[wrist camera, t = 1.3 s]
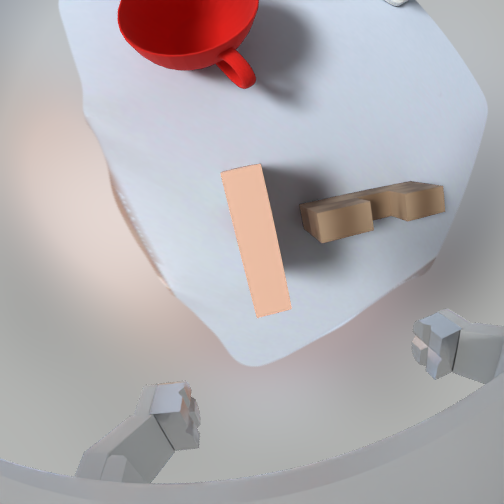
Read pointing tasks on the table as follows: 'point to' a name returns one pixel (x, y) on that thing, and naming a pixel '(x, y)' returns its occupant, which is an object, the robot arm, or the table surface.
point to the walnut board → (370, 209)
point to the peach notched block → (257, 238)
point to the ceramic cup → (191, 33)
